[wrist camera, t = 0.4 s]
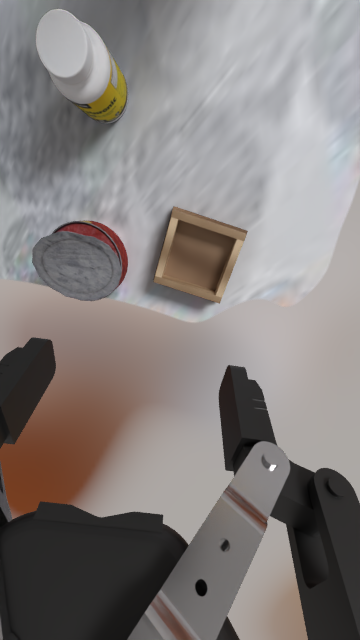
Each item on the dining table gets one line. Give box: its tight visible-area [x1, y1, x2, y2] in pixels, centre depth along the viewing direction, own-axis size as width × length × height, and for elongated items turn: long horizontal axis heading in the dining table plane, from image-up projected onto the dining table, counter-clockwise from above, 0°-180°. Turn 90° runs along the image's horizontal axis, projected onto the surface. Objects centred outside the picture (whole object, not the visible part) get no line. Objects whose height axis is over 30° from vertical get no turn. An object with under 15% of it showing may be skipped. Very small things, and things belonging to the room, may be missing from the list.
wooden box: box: [153, 206, 247, 303], centre depth 33 cm, size 9×9×3 cm
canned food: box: [32, 221, 128, 301], centre depth 33 cm, size 11×10×10 cm
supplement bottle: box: [36, 9, 128, 123], centre depth 25 cm, size 5×5×10 cm
